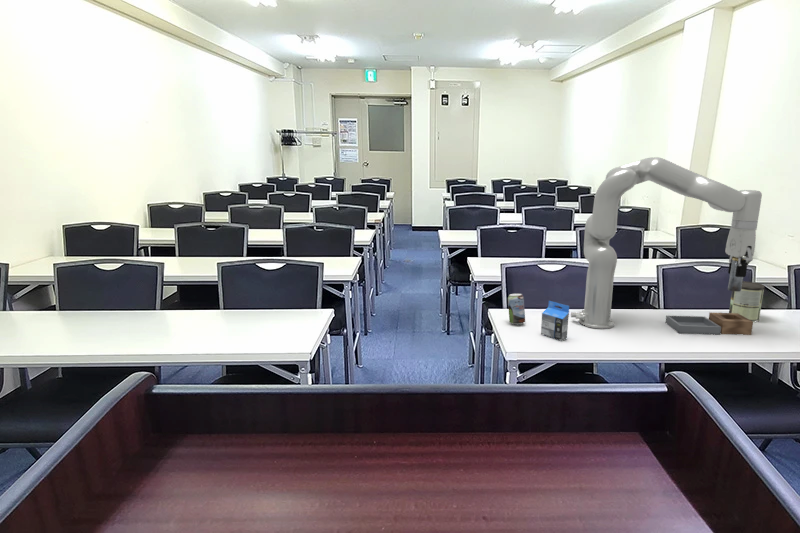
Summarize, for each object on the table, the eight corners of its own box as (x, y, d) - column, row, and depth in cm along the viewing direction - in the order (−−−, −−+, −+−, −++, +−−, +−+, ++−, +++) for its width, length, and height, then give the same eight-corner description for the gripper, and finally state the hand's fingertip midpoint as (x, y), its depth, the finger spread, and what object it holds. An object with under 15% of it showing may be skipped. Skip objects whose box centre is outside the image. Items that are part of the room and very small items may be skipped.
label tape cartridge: (540, 334, 174) (541, 302, 172) (546, 332, 177) (548, 300, 174) (561, 341, 167) (563, 307, 165) (567, 338, 170) (569, 305, 167)
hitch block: (721, 333, 173) (723, 320, 172) (707, 324, 183) (709, 312, 182) (751, 334, 172) (753, 321, 171) (735, 325, 181) (737, 313, 180)
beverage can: (519, 327, 181) (520, 297, 179) (503, 323, 187) (504, 293, 184) (528, 324, 185) (530, 294, 183) (512, 319, 191) (514, 290, 188)
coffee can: (722, 314, 195) (726, 281, 192) (747, 314, 195) (752, 281, 192) (738, 322, 185) (744, 287, 182) (765, 322, 185) (771, 287, 182)
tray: (678, 333, 174) (679, 325, 173) (665, 322, 186) (666, 315, 185) (720, 334, 172) (721, 326, 172) (703, 323, 184) (704, 316, 183)
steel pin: (731, 291, 172) (736, 259, 170) (725, 288, 176) (730, 256, 174) (743, 291, 172) (748, 259, 169) (737, 288, 176) (742, 257, 173)
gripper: (720, 222, 177) (713, 270, 181) (746, 228, 161) (738, 280, 165) (742, 222, 177) (734, 270, 180) (770, 228, 160) (761, 281, 164)
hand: (736, 274), depth 173 cm, fingers closed on steel pin, 4 cm apart
